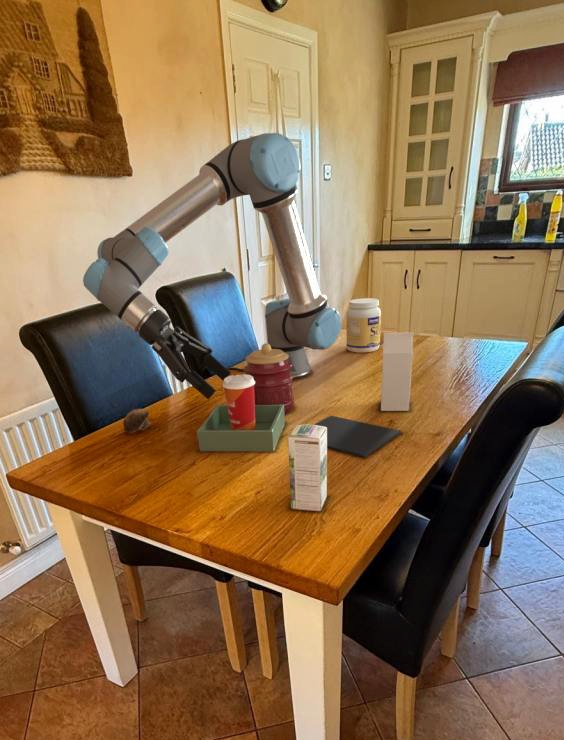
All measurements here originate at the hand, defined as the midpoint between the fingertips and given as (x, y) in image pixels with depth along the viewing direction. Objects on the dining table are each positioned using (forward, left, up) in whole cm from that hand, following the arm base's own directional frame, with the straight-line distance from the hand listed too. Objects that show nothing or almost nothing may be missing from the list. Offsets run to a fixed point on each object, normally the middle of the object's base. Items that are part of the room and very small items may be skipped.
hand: (220, 385), depth 120 cm
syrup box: (+37, -15, -13) cm, 42 cm away
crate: (+4, +2, -13) cm, 14 cm away
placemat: (+25, +15, -13) cm, 32 cm away
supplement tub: (-15, +86, -13) cm, 89 cm away
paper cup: (+4, +2, -13) cm, 13 cm away
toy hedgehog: (-23, -10, -13) cm, 28 cm away
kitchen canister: (-3, +20, -13) cm, 24 cm away
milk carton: (+25, +38, -13) cm, 48 cm away
